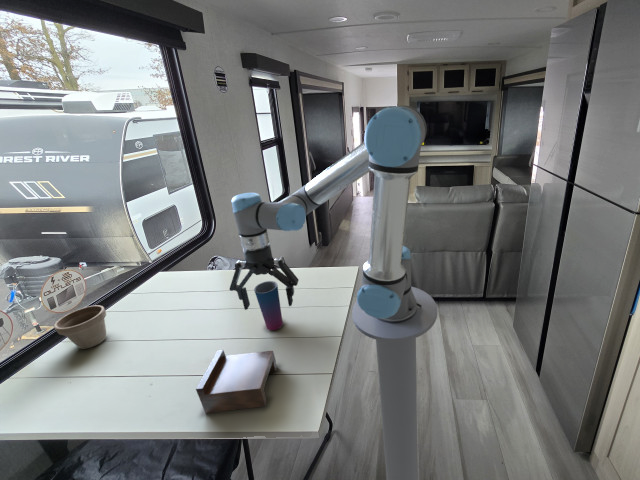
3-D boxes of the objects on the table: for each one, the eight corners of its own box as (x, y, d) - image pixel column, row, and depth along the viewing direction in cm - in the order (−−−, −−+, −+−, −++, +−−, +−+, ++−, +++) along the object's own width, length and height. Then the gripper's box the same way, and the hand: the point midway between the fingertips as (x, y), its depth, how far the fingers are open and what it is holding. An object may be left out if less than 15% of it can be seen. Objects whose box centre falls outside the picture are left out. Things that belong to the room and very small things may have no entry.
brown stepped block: (277, 367, 86) (271, 344, 82) (265, 406, 75) (258, 382, 71) (225, 372, 84) (217, 350, 81) (205, 413, 73) (195, 389, 70)
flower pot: (72, 339, 99) (57, 314, 95) (117, 324, 105) (105, 300, 102) (65, 361, 91) (49, 334, 87) (114, 343, 97) (101, 317, 93)
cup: (287, 327, 101) (279, 288, 95) (266, 335, 97) (256, 295, 92) (282, 316, 106) (274, 278, 100) (262, 323, 103) (252, 285, 97)
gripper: (206, 254, 86) (224, 316, 94) (297, 248, 88) (307, 309, 96) (217, 243, 93) (233, 301, 101) (301, 237, 95) (310, 295, 103)
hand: (269, 305), depth 99 cm, fingers open, 13 cm apart
